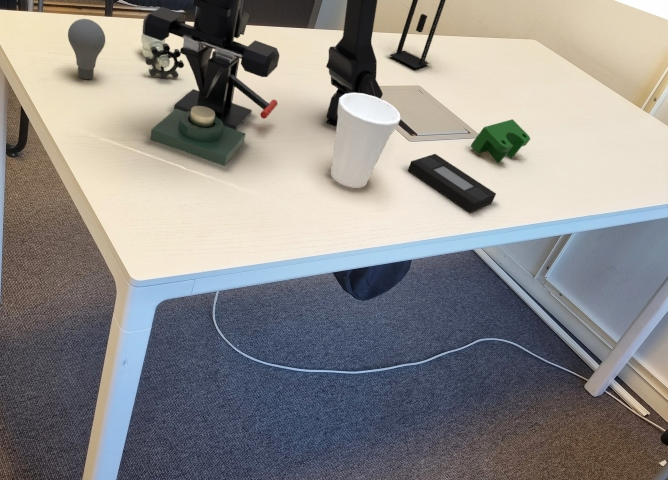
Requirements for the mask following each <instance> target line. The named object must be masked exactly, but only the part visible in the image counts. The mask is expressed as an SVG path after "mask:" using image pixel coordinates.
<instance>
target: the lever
mask: <svg viewBox="0 0 668 480" xmlns="http://www.w3.org/2000/svg"><path fill="white" fill-rule="evenodd" d="M231 70H232V67H231ZM230 72H231V71H230ZM229 82H230V83H231V84H232V85H233V86H235V88H236V89H237V90H238V91H240V92H241V93H242V94H243V95H244V96H246V97H247V98H248V99H249V100H251V101H252V102H253V103H255V104H256V105H257V106H258V107H259V108H261V109H262V111H261V112H260V114H259V116H260V119H265V120H266V119H267V118H268V117H269V116H270V114H271V113H272V112H273V111H274V110H275V109H276V107H277V106H278V101H277V99H271V100H270V101H269V102H267V101H266V100H265V99H264V98H262V97H261V96H260V95H259V94H257V93H256V92H255V91H254V90H252V89H251V87H249V86H248V85H246V84H245V83H244V82H243V81H242V80H240V79H239V78H238V77H235V76H234V75H233V74H231V73H230V77H229Z"/></svg>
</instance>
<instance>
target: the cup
mask: <svg viewBox="0 0 668 480" xmlns="http://www.w3.org/2000/svg"><path fill="white" fill-rule="evenodd" d="M400 113H401V112H399V110H398V109H397V108H396V107H395V106H394V105H392V104H391V103H389V102H388V101H386V100H383V99H382V98H381V99H379V98H377V97H374V96H371V95H367V94H362V93H348V94H344V95H343V96H341V97H340V98H339V104H338V121H337V127H336V129H335V138H334V145H333V152H332V161H331V168H330V176H331V178H332V179H333V180H334V181H336V182H337V183H338V184H339V185H343V186H345V187H348V188H353V189H354V188H355V189H358V188H359V189H360V188H363V187H365V186H366V185H368V181H369V179H370V178H371V175H372V173H373V172H374V169H375V167H376V165H377V163H378V161H379V159H380V157H381V155H382V152H383V151H384V149H385V147H386V144H387V143H388V141H389V139H390V137H391V135H392V134H393V133H395V131H396V130H397V129H398V126H399V124H400V122H401V114H400Z"/></svg>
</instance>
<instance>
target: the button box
mask: <svg viewBox="0 0 668 480" xmlns="http://www.w3.org/2000/svg"><path fill="white" fill-rule="evenodd" d="M190 115H191V111H188V112H184V111H181V110H179V109H174V110H172V111H171V112H170V113H168V115H166V116H165V117H164V118H163V119H162V120H161V121H160V122H158V123H157V124H156V125H155V126H154V127H152V128H151V131H150V141H153V142H155V143H159V144H161V145H164V146H167V147H169V148H172V149H175V150H178V151H181V152H184V153H185V154H190V155H192V156H195V157H198V158H201V159H204V160H207V161H209V162H211V163H215V164H217V165H220V166H223V167H225V166H226V165H227V164H228V163H229V162H230V160H232V158H233V157H234V156H235V154H236V153H237V152H238V151H239V150H240V148H241V147H242V146H243V145H244V144H245V140H246V136H247V133H245V132H244V131H240V130H238V129H237V130H235V129H232V128H229V127H226V126H223V123H222V121H221V120H220V119H219V118H217V117H216V116H215V118H214V124H213V127H211V128H201V127H198V126H195V125H193V124H191V123H190Z"/></svg>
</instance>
